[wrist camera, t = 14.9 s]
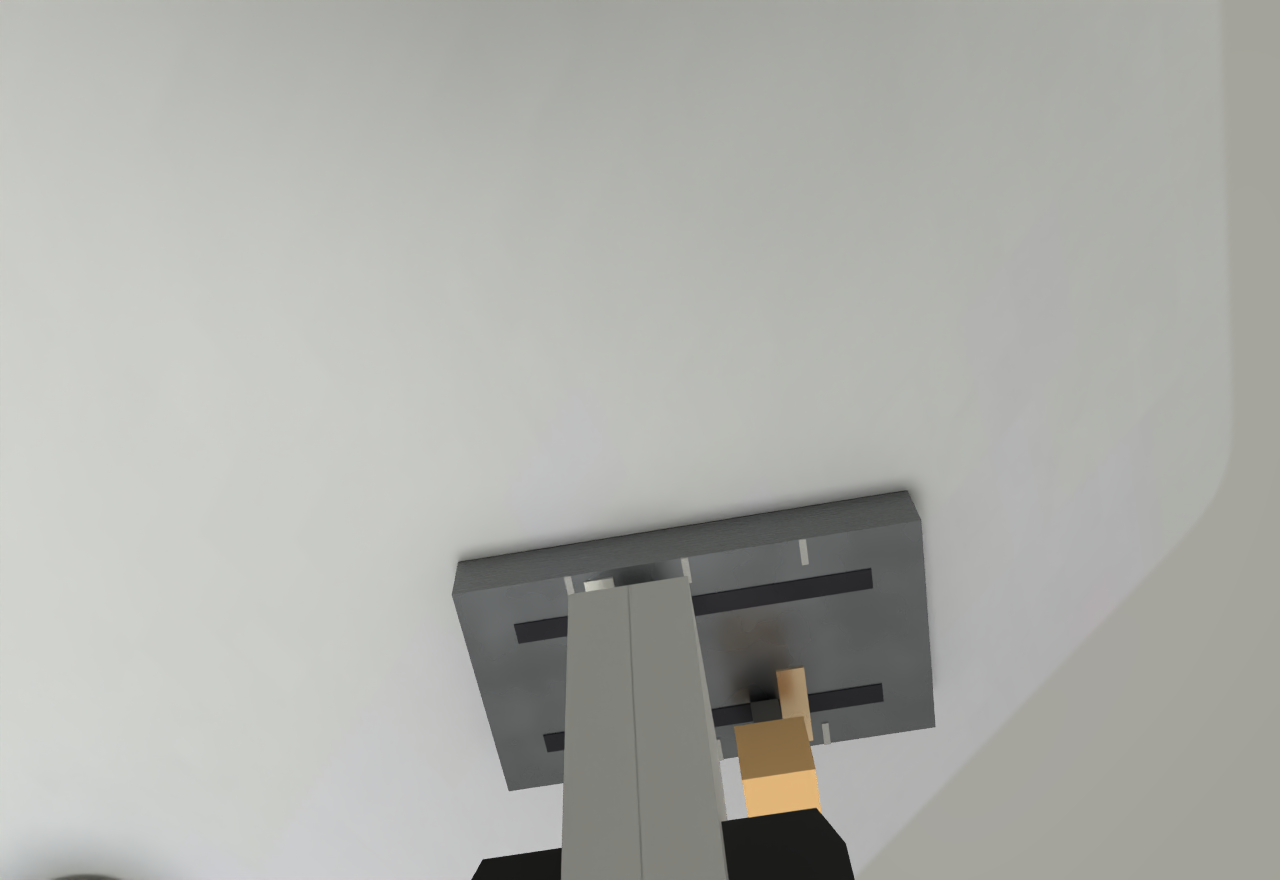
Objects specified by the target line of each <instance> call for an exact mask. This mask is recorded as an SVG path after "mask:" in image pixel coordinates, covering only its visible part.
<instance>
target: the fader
mask: <svg viewBox="0 0 1280 880" xmlns="http://www.w3.org/2000/svg"><path fill="white" fill-rule="evenodd" d="M750 704H751V711H752V717H753V724H747V725H740V726H734V730H735V737H736V744H737V750H738V757H739V763H740V770H741V776H742V783H743V789H744V794H745V800H746V806H747V812H748V818H749V817H756V816H763V815H769V814H776V813H783V812H790V811H797V810H803V809H810V808H817V809H818V810H819V812H820V813H821V807H820V799H819V791H818V784H817V776H816V769H815V765H814V760H813V756H812V752H811V747H810V743H809V739H808V734H807V730H806V726H805V721H804V717H803V716H799V717H793V718H786V719H782V716H781V711H780V706H779V702H778V699H772V700H765V701H758V702H752V703H750Z"/></svg>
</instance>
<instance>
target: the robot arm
mask: <svg viewBox="0 0 1280 880" xmlns="http://www.w3.org/2000/svg"><path fill="white" fill-rule="evenodd" d="M472 880H855V879H854V875H853V871H852V867H851V863H850V859H849V855H848V851H847V847H846V843H845V842H844V841H843V840H842V838H841V837H840V836H839V835H838V833H837V832H836V831H835V830H834V829H833V827H832V826H831V825H830V824H829V822H828V821H827V820H826V819H825V818H824V816H823V815H822V814H821V813H820V812H819V810H818V809H817V808H810V809H803V810H797V811H790V812H783V813H776V814H769V815H763V816H756V817H749V818H742V819H735V820H729V821H727V814H726V806H725V799H724V791H723V784H722V776H721V769H720V762H719V754H718V747H717V740H716V734H715V728H714V722H713V717H712V711H711V705H710V700H709V694H708V688H707V683H706V677H705V671H704V666H703V660H702V654H701V649H700V643H699V637H698V631H697V626H696V620H695V614H694V609H693V603H692V597H691V592H690V586H689V580H688V576H684V577H677V578H671V579H665V580H658V581H652V582H645V583H639V584H633V585H626V586H620V587H613V588H607V589H601V590H594V591H588V592H581V593H575V594H569V596H568V634H567V672H566V710H565V748H564V785H563V823H562V848H558V849H551V850H544V851H537V852H531V853H524V854H517V855H510V856H503V857H496V858H490V859H483V860H482V862H481V864H480V865H479V867H478V869H477V871H476V873H475V874H474V876H473V878H472Z"/></svg>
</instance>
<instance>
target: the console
mask: <svg viewBox="0 0 1280 880" xmlns="http://www.w3.org/2000/svg"><path fill="white" fill-rule="evenodd" d="M684 576H688V580H689V586H690V592H691V597H692V603H693V609H694V614H695V620H696V626H697V631H698V637H699V643H700V649H701V654H702V660H703V666H704V671H705V677H706V683H707V688H708V694H709V700H710V705H711V711H712V717H713V722H714V728H715V734H716V740H717V747H718V754H719V761H720V760H724V759H726V758H733V757H738V750H737V744H736V737H735V730H734V726H740V725H747V724H753V717H752V711H751V704H750V703H752V702H758V701H765V700H772V699H778V702H779V706H780V711H781V716H782V719H786V718H793V717H799V716H803V717H804V721H805V726H806V730H807V734H808V739H809V743H810V746H813V745H819V744H824V745H827V744H831V743H832V742H839V741H846V740H852V739H859V738H866V737H872V736H879V735H886V734H892V733H899V732H906V731H912V730H919V729H926V728H932V727H935V714H934V700H933V685H932V671H931V656H930V642H929V627H928V613H927V598H926V584H925V569H924V555H923V540H922V526H921V519H920V517H919V515H918V513H917V510H916V508H915V506H914V504H913V502H912V500H911V498H910V496H909V493H908V491H902V492H896V493H890V494H883V495H877V496H871V497H865V498H858V499H852V500H846V501H840V502H833V503H827V504H821V505H815V506H808V507H802V508H796V509H790V510H783V511H777V512H771V513H765V514H758V515H752V516H746V517H740V518H734V519H727V520H721V521H715V522H709V523H702V524H696V525H690V526H684V527H677V528H671V529H665V530H659V531H652V532H646V533H640V534H634V535H627V536H621V537H615V538H609V539H602V540H596V541H590V542H584V543H577V544H571V545H565V546H559V547H552V548H546V549H540V550H534V551H527V552H521V553H515V554H509V555H502V556H496V557H490V558H484V559H477V560H471V561H465V562H459V563H458V565H457V571H456V576H455V581H454V586H453V591H452V597H453V600H454V604H455V607H456V611H457V614H458V618H459V621H460V624H461V628H462V631H463V635H464V638H465V642H466V645H467V649H468V652H469V655H470V659H471V662H472V666H473V669H474V673H475V676H476V680H477V683H478V686H479V690H480V693H481V697H482V700H483V704H484V707H485V711H486V714H487V717H488V721H489V724H490V728H491V731H492V735H493V738H494V741H495V745H496V748H497V752H498V755H499V759H500V762H501V766H502V769H503V772H504V776H505V779H506V783H507V786H508V790H509V791H513V790H520V789H527V788H533V787H540V786H547V785H553V784H560V783H564V748H565V710H566V672H567V634H568V596H569V594H575V593H581V592H588V591H594V590H601V589H607V588H613V587H620V586H626V585H633V584H639V583H645V582H652V581H658V580H665V579H671V578H677V577H684Z"/></svg>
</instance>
